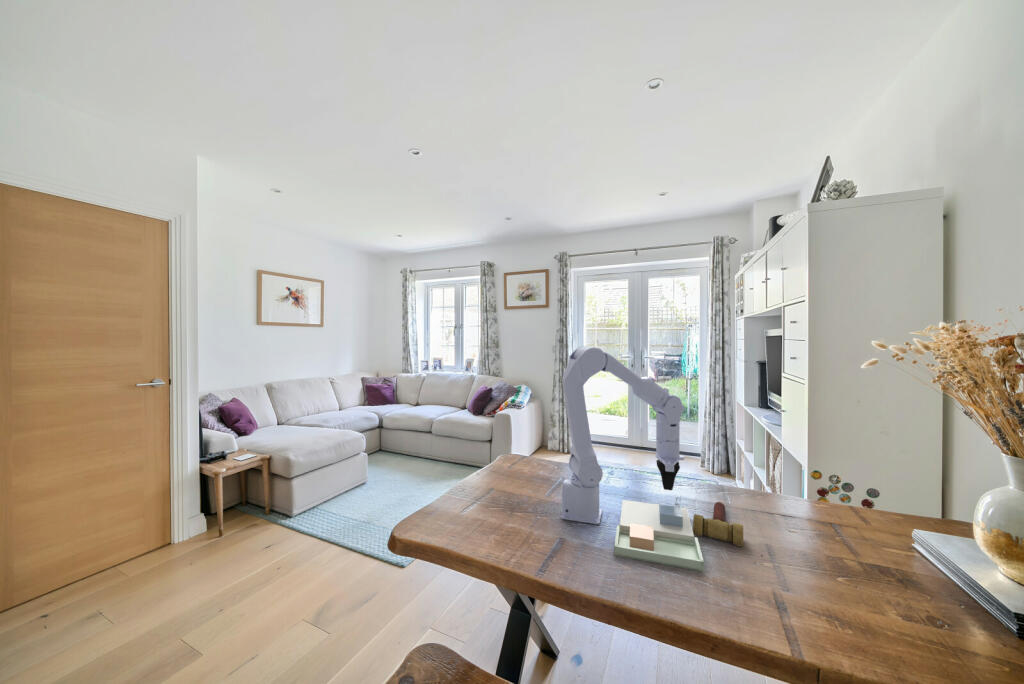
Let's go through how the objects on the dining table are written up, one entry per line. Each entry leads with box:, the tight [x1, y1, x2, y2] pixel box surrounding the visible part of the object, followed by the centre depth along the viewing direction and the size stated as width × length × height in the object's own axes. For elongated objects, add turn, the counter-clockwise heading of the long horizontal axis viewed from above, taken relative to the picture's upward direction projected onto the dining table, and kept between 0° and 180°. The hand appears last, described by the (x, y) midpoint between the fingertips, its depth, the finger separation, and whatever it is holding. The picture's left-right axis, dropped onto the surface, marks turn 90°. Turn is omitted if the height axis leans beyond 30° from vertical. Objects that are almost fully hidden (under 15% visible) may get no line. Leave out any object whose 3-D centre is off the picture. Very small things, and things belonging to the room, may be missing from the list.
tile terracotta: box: [630, 523, 654, 551], centre depth 83 cm, size 5×5×2 cm
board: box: [619, 499, 695, 542], centre depth 92 cm, size 16×14×2 cm
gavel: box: [692, 501, 744, 547], centre depth 93 cm, size 21×5×10 cm
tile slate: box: [658, 503, 683, 527], centre depth 90 cm, size 5×5×2 cm
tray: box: [614, 524, 705, 573], centre depth 81 cm, size 17×9×2 cm, turn 71°
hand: (667, 489), depth 100 cm, fingers closed
